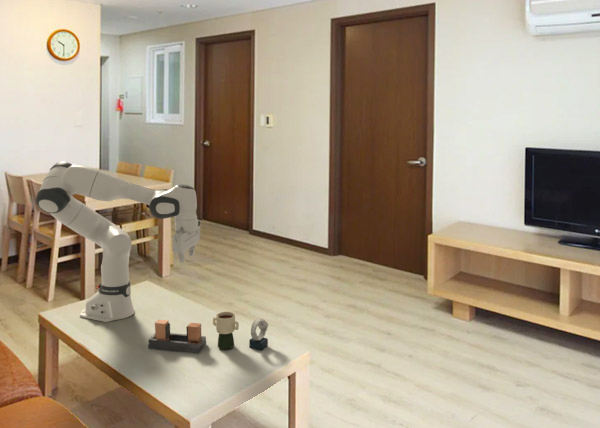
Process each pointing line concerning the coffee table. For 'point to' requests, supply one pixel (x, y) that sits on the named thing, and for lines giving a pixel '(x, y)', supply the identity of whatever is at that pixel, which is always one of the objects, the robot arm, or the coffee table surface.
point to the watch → (259, 341)
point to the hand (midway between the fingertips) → (187, 258)
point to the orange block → (162, 329)
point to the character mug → (225, 329)
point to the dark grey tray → (181, 341)
